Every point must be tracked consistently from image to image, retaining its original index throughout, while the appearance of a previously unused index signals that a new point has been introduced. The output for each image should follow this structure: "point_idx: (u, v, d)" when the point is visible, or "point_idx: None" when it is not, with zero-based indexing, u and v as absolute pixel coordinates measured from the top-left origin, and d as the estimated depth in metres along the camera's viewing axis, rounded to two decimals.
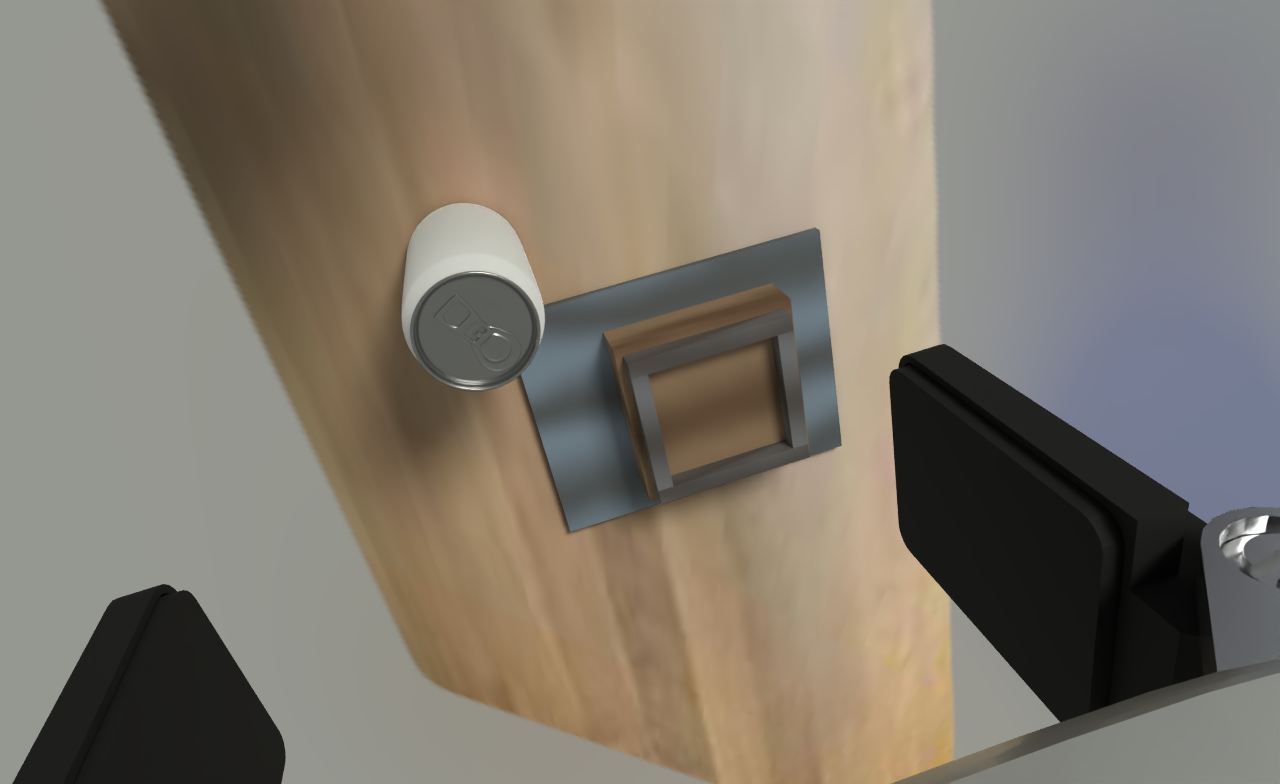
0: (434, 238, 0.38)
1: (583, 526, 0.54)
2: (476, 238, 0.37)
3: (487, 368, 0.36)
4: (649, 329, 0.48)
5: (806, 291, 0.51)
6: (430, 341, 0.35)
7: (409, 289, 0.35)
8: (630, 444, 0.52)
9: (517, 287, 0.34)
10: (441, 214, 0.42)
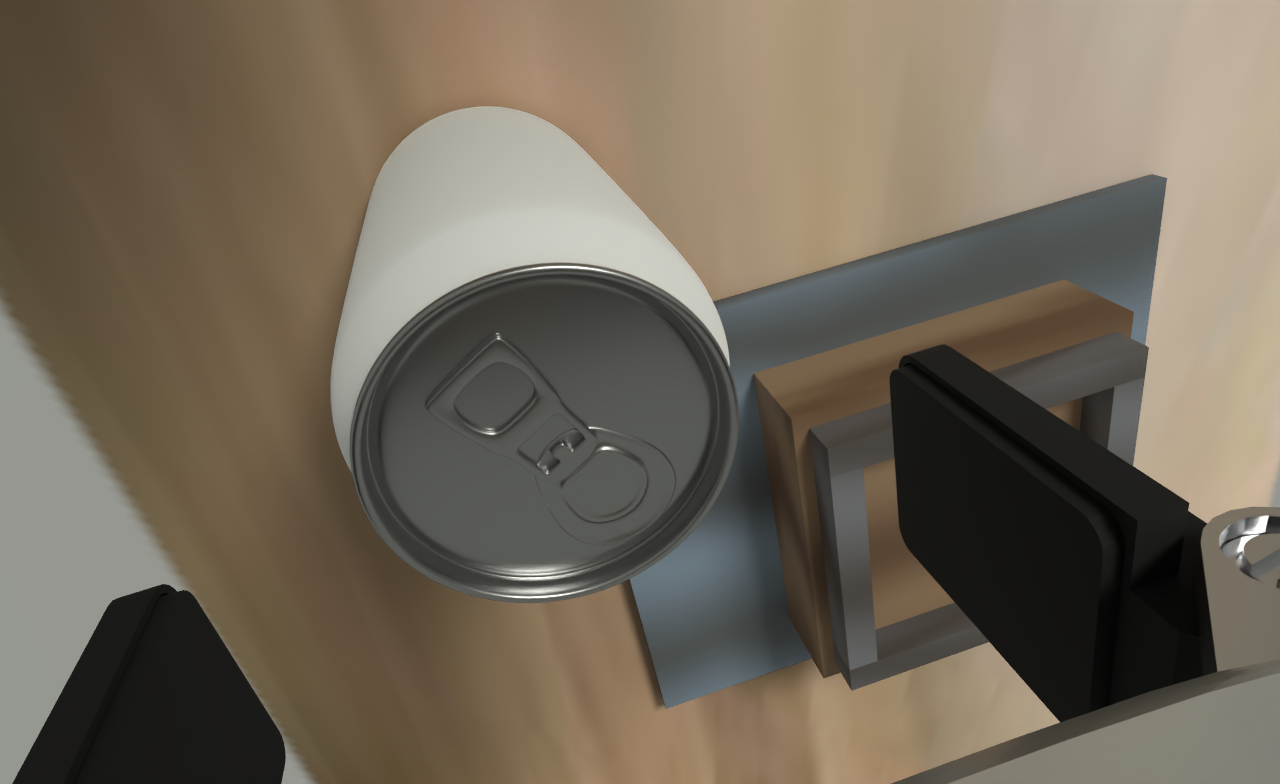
0: (426, 172, 0.15)
1: (688, 698, 0.31)
2: (542, 169, 0.13)
3: (577, 539, 0.13)
4: (851, 370, 0.24)
5: (1119, 294, 0.27)
6: (415, 475, 0.11)
7: (350, 316, 0.11)
8: (780, 566, 0.29)
9: (687, 314, 0.11)
10: (442, 125, 0.18)
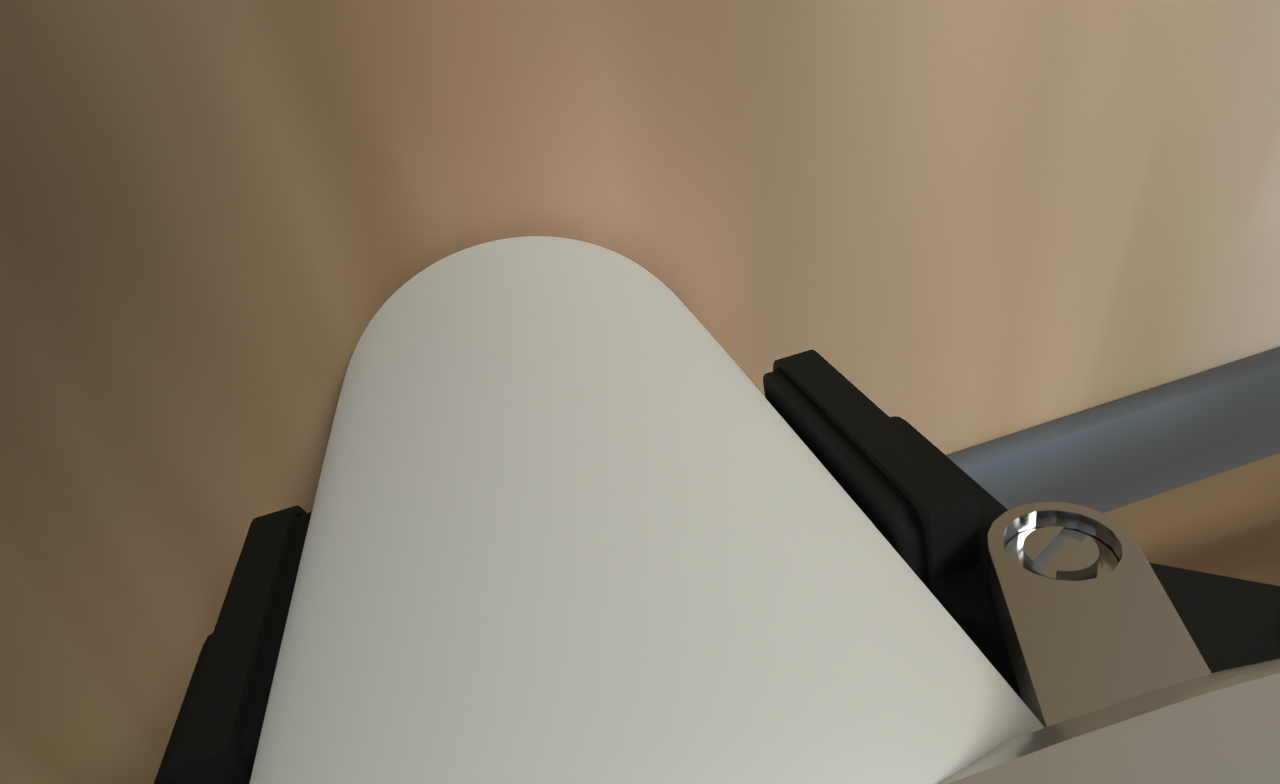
0: (436, 452, 0.07)
1: None
2: (700, 496, 0.06)
3: None
4: None
5: None
6: None
7: None
8: None
9: None
10: (462, 285, 0.11)
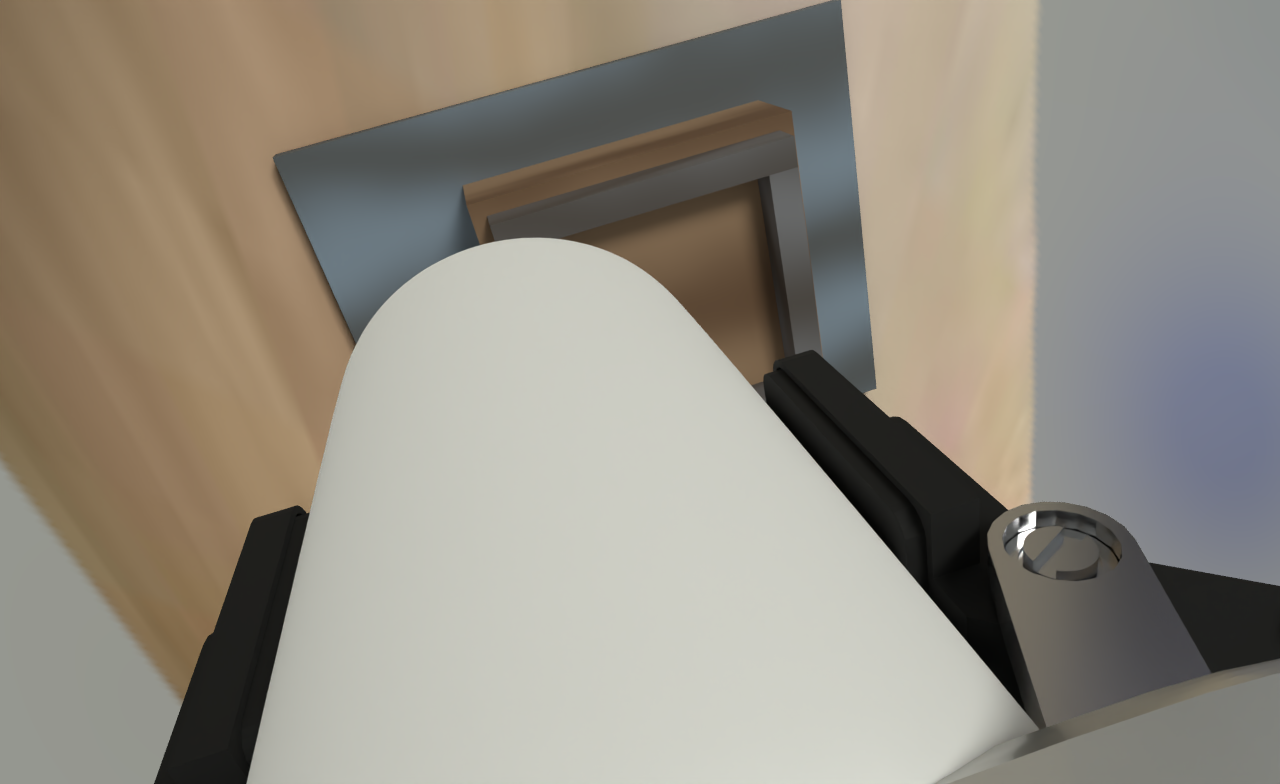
0: (433, 455, 0.07)
1: None
2: (697, 500, 0.06)
3: None
4: (540, 173, 0.27)
5: (819, 117, 0.30)
6: None
7: None
8: None
9: None
10: (461, 287, 0.11)
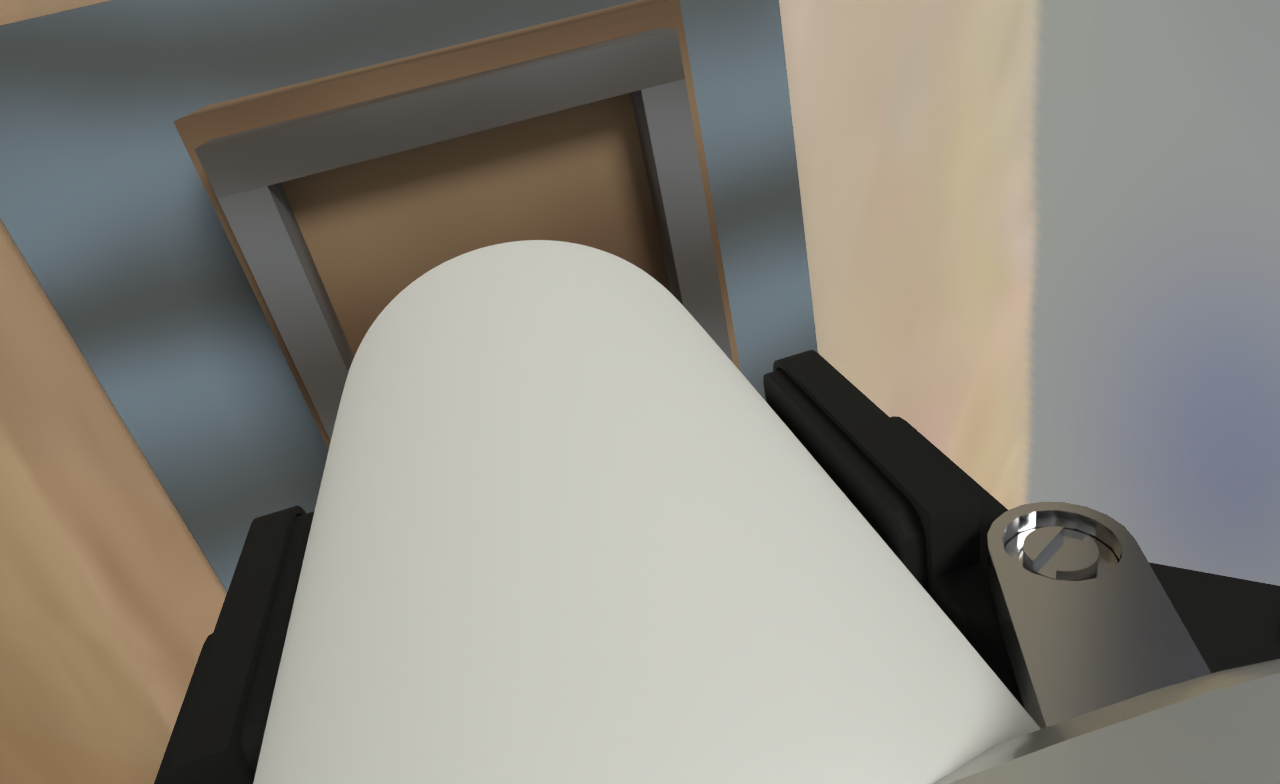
0: (438, 459, 0.07)
1: None
2: (702, 504, 0.06)
3: None
4: (308, 84, 0.18)
5: (735, 28, 0.21)
6: None
7: None
8: None
9: None
10: (464, 289, 0.11)
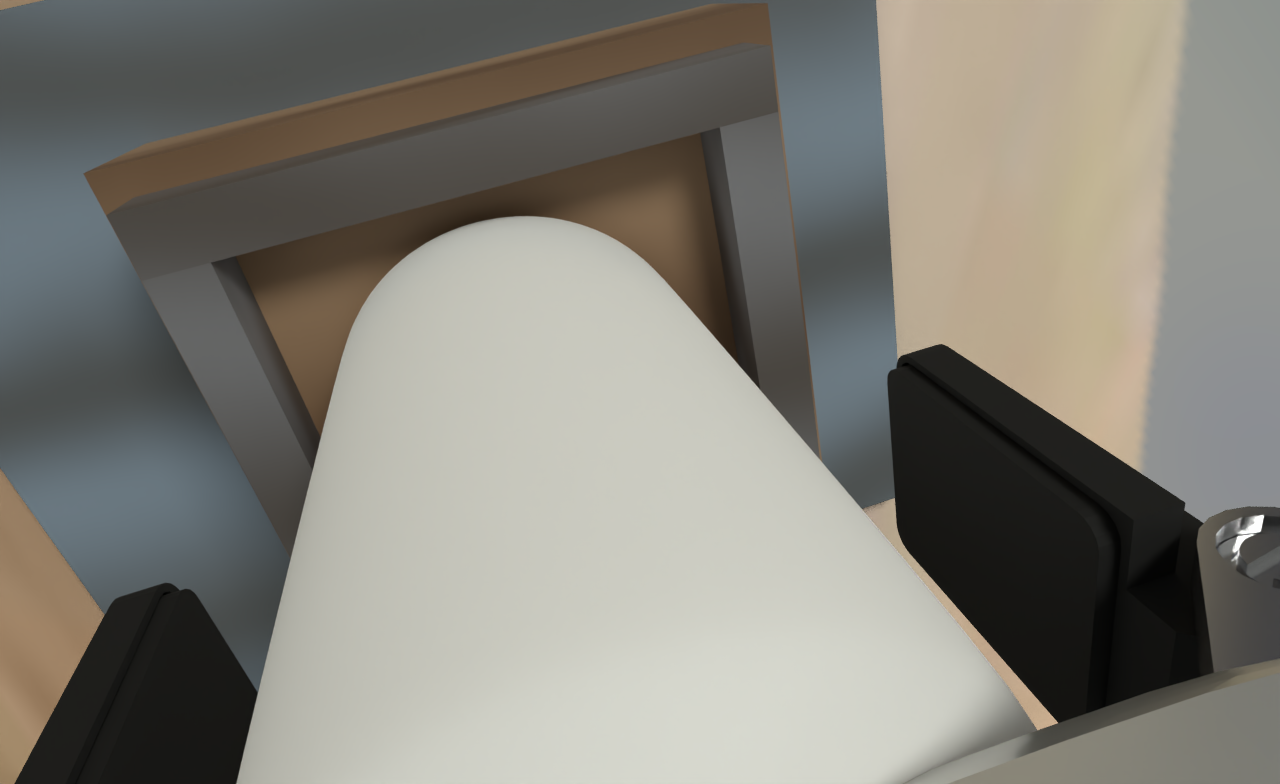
0: (427, 399, 0.08)
1: None
2: (660, 429, 0.07)
3: None
4: (273, 118, 0.14)
5: (821, 42, 0.17)
6: None
7: None
8: None
9: None
10: (454, 259, 0.11)
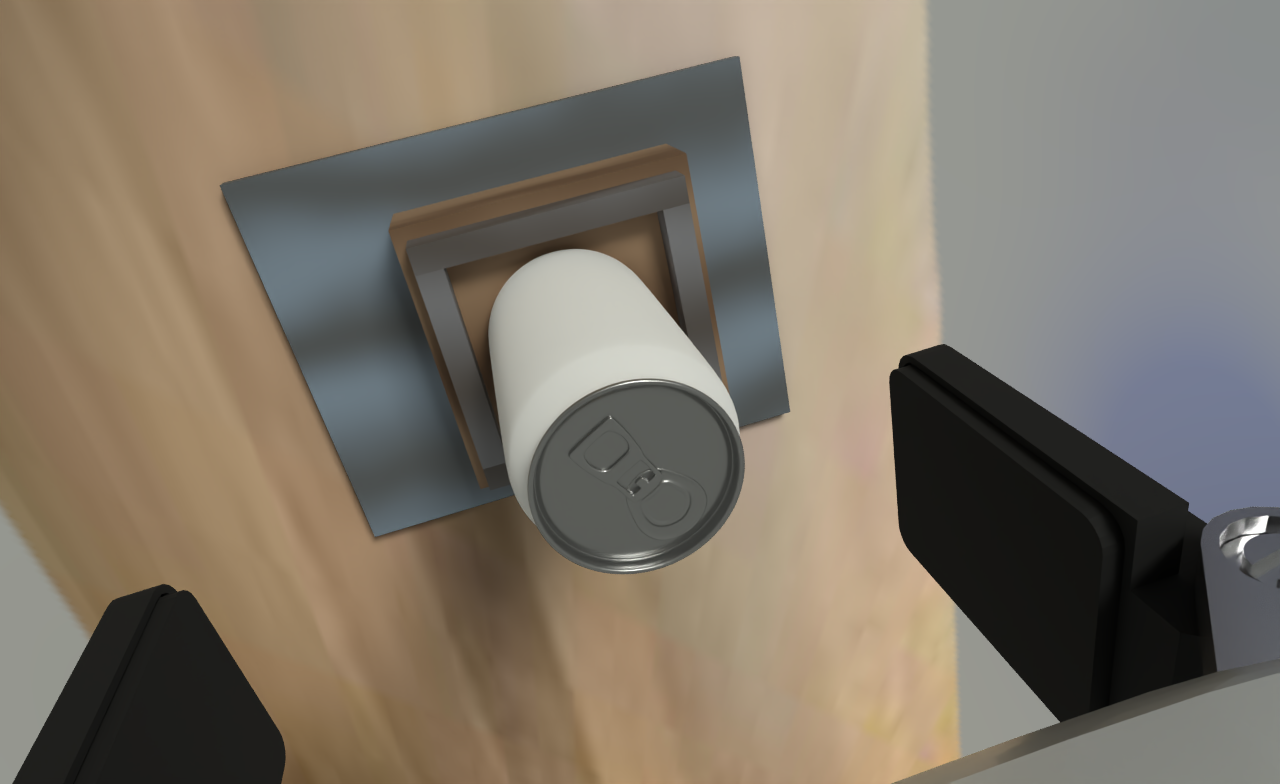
0: (551, 309, 0.24)
1: (394, 528, 0.36)
2: (626, 312, 0.22)
3: (648, 535, 0.21)
4: (460, 204, 0.29)
5: (723, 160, 0.33)
6: (559, 495, 0.20)
7: (524, 404, 0.20)
8: None
9: (715, 405, 0.20)
10: (548, 267, 0.27)
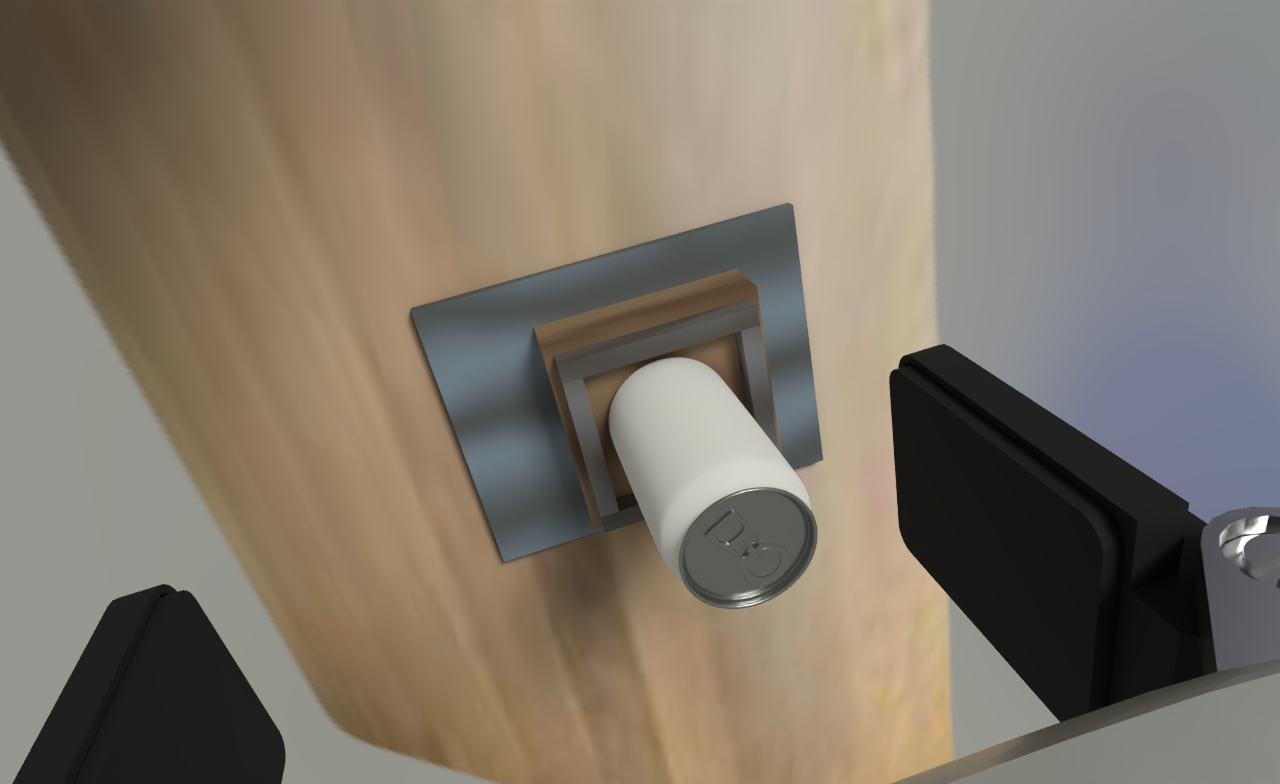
0: (676, 422, 0.34)
1: (519, 555, 0.46)
2: (732, 429, 0.33)
3: (751, 583, 0.32)
4: (587, 323, 0.40)
5: (778, 278, 0.43)
6: (696, 559, 0.31)
7: (672, 499, 0.31)
8: (572, 460, 0.44)
9: (800, 501, 0.30)
10: (660, 377, 0.37)
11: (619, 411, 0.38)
